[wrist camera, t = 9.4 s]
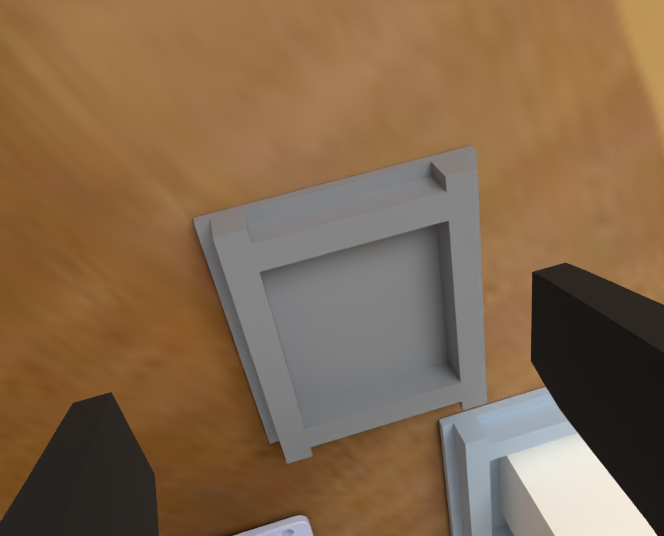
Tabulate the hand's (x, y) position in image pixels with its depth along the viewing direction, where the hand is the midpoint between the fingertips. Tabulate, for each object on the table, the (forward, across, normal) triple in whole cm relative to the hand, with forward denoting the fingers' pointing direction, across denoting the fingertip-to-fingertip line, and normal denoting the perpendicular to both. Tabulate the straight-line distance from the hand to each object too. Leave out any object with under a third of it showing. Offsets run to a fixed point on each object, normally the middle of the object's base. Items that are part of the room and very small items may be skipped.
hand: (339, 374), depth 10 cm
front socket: (+9, -2, +6) cm, 11 cm away
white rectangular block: (+9, -9, +18) cm, 22 cm away
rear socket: (+9, -9, +18) cm, 22 cm away
